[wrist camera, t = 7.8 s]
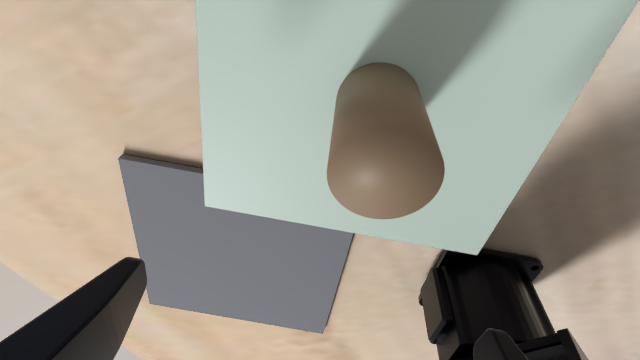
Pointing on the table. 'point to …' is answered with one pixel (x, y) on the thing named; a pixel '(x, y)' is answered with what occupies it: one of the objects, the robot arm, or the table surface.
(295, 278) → the rubber mat
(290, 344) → the table surface
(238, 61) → the board
